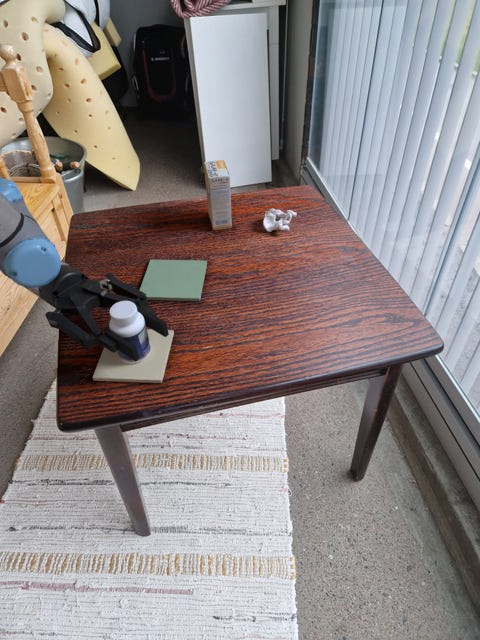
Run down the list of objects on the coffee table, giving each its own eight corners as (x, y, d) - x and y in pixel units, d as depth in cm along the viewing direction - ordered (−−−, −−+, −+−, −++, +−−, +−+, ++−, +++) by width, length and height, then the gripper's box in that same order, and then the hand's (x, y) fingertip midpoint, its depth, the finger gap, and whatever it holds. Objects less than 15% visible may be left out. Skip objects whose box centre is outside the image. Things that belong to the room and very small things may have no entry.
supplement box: (207, 213, 103) (202, 161, 94) (226, 211, 104) (224, 159, 94) (212, 231, 97) (207, 177, 88) (232, 228, 98) (230, 175, 89)
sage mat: (137, 299, 80) (136, 296, 80) (150, 262, 89) (150, 259, 88) (200, 301, 80) (199, 298, 79) (207, 263, 88) (207, 260, 88)
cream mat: (93, 380, 66) (92, 377, 66) (112, 331, 74) (111, 328, 74) (162, 383, 66) (161, 380, 65) (174, 333, 74) (173, 329, 73)
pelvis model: (289, 223, 92) (260, 216, 93) (286, 239, 95) (258, 232, 96) (298, 205, 97) (271, 199, 99) (295, 221, 100) (269, 214, 102)
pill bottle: (112, 361, 68) (97, 318, 61) (127, 338, 72) (114, 295, 65) (143, 367, 67) (131, 324, 60) (156, 343, 71) (146, 300, 64)
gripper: (105, 274, 81) (194, 324, 71) (19, 329, 71) (109, 397, 61) (95, 241, 76) (190, 290, 66) (0, 296, 66) (95, 364, 55)
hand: (151, 341), depth 63 cm, fingers closed on pill bottle, 5 cm apart
